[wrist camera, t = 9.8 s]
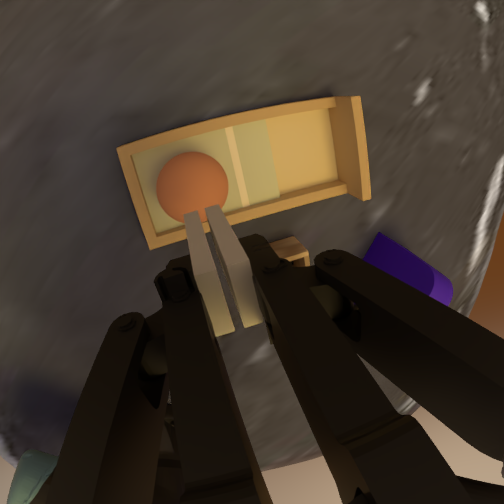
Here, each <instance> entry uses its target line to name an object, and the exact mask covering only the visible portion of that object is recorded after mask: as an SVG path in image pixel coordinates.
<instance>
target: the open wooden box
mask: <svg viewBox="0 0 504 504" xmlns="http://www.w3.org/2000/svg"><path fill="white" fill-rule="evenodd" d="M269 244H270V246H271V247H272V248H273V250H274V251H275V252H276V254H277V255H278V256H279V258H284V259H287V260H288V261H293V264H294V265H293V266H294V267H305V266H310V262H309V254H308V250H307V249H306V248H305V247H304V246H303V245H302V244H301V243H300V242H299V241H298V240H297V239H296V238H295V237H294V236H291V237H288V238H285V239H282V240H278V241H275V242H272V243H269Z"/></svg>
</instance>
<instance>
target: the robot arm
mask: <svg viewBox="0 0 504 504" xmlns="http://www.w3.org/2000/svg"><path fill="white" fill-rule="evenodd" d="M204 209H205V213H206V216H207V220H208V224H209V227H210V231H211V234H212V238H213V241H214V245H215V248H216V252H217V255H218V258H219V261H220V263H221V266H222V269H223V272H224V274H225V277H226V280H227V283H228V285H229V288H230V291H231V293H232V296H233V299H234V301H235V304H236V307H237V309H238V312H239V315H240V317H241V320H242V322H243V325H244V328H247V327H250V326H253V325H256V324H259V323H262V322H264V320H263V317H264V319H265V323H266V327H267V331H268V335H269V339H270V344H274V347H275V349H276V351H277V353H278V356H279V358H280V360H281V362H282V365H283V367H284V369H285V371H286V374H287V376H288V378H289V381H290V383H291V385H292V387H293V390H294V392H295V394H296V396H297V398H298V401H299V403H300V405H301V407H302V410H303V412H304V414H305V416H306V419H307V421H308V423H309V425H310V427H311V430H312V432H313V434H314V436H315V438H316V441H317V443H318V445H319V447H320V449H321V452H322V454H323V456H324V458H325V460H326V462H327V464H328V467H329V469H330V471H331V473H332V475H333V478H334V480H335V482H336V485H337V487H338V491H339V495H340V498H341V500H342V503H343V504H504V486H502V485H496V484H491V483H486V482H482V481H477V480H473V479H469V478H464V477H460V476H456V475H455V474H454V472H453V471H452V469H451V468H450V466H449V465H448V463H447V462H446V461H445V459H444V458H443V456H442V455H441V453H440V452H439V450H438V449H437V447H436V446H435V445H434V443H433V442H432V440H431V439H430V437H429V436H428V434H427V433H426V432H425V430H424V429H423V427H422V426H421V425H420V424H419V423H418V421H417V420H416V419H415V418H414V417H412V416H410V415H401V414H399V413H398V412H397V411H396V410H395V409H394V407H393V406H392V404H391V403H390V401H389V400H388V398H387V397H386V395H385V394H384V393H383V391H382V390H381V388H380V387H379V385H378V384H377V382H376V381H375V380H374V378H373V377H372V375H371V374H370V372H369V371H368V369H367V368H366V367H365V365H364V364H363V362H362V361H361V360H360V358H359V357H358V355H359V356H361V357H362V358H363V359H364V360H366V361H367V362H368V363H369V364H370V365H372V366H373V367H374V368H375V369H377V370H378V371H379V372H380V373H381V374H383V375H384V376H385V377H386V378H388V379H389V380H390V381H391V382H392V383H394V384H395V385H396V386H397V387H399V388H400V389H401V390H402V391H404V392H405V393H406V394H407V395H409V396H410V397H411V398H412V399H413V400H415V401H416V402H417V403H418V404H420V405H421V406H422V407H423V408H425V409H426V410H427V411H428V412H430V413H431V414H432V415H433V416H435V417H436V418H437V419H438V420H440V421H441V422H442V423H443V424H445V425H446V426H447V427H448V428H450V429H451V430H452V431H453V432H455V433H456V434H457V435H458V436H460V437H461V438H462V439H463V440H465V441H466V442H467V443H468V444H470V445H471V446H473V447H474V448H476V449H477V450H478V451H480V452H482V453H484V454H486V455H488V456H490V457H492V458H494V459H496V460H499V461H502V462H503V467H502V472H501V473H502V477H503V478H504V339H502V338H501V337H499V336H497V335H496V334H494V333H492V332H491V331H489V330H487V329H486V328H484V327H482V326H480V325H479V324H477V323H476V322H474V321H472V320H470V319H469V318H467V317H465V316H464V315H462V314H460V313H458V312H457V311H455V310H453V309H451V308H450V307H448V306H446V305H444V304H443V303H441V302H439V301H437V300H435V299H434V298H432V297H430V296H428V295H427V294H425V293H423V292H421V291H419V290H418V289H416V288H414V287H412V286H410V285H408V284H407V283H405V282H403V281H401V280H399V279H397V278H396V277H394V276H392V275H390V274H388V273H386V272H384V271H383V270H381V269H379V268H377V267H375V266H373V265H371V264H369V263H367V262H366V261H364V260H362V259H360V258H358V257H356V256H354V255H352V254H350V253H348V252H346V251H343V250H336V249H332V250H327V251H324V252H322V253H320V254H318V255H317V256H316V257H315V259H314V264H315V265H313V266H305V267H294V266H293V265H292V264H291V262H290V261H288V260H287V259H284V258H279V256H278V255H277V254H276V252H275V251H274V250H273V248H272V247H271V246H270V244H269V243H268V242H267V240H266V239H265V238H264V237H263V236H261V235H258V234H253V235H250V236H246V237H243V238H240V239H237V237H236V235H235V233H234V231H233V230H232V228H231V226H230V224H229V222H228V221H227V219H226V217H225V215H224V213H223V211H222V210H221V208H220V206H219V204H217V205H213V206H210V207H207V208H204ZM183 216H184V222H185V228H186V234H187V240H188V245H189V251H190V254H189V255H186V256H183V257H180V258H176V259H173V260H170V262H169V263H168V265H167V266H166V269H165V270H163V271H162V272H160V273H159V274H158V275H157V276H156V277H155V280H154V283H155V286H156V288H157V291H158V293H159V295H160V298H161V300H162V306H163V307H162V308H161V309H160V310H159V311H158V312H156V313H155V314H153V315H151V316H149V317H147V318H144V317H143V315H142V314H141V313H138V312H130V313H127V314H123V315H122V316H120V317H118V318H117V319H116V320H115V321H113V323H112V324H111V326H110V327H109V329H108V332H107V334H106V336H105V338H104V341H103V343H102V345H101V347H100V350H99V352H98V354H97V357H96V359H95V361H94V364H93V366H92V369H91V371H90V373H89V376H88V378H87V381H86V383H85V386H84V388H83V391H82V393H81V396H80V399H79V401H78V404H77V406H76V409H75V412H74V415H73V417H72V420H71V423H70V426H69V428H68V431H67V434H66V437H65V440H64V443H63V446H62V449H61V452H60V455H59V456H54V455H51V454H48V453H45V452H42V451H39V450H34V449H31V450H27V451H26V452H24V454H23V455H22V456H21V458H20V461H19V463H18V466H17V468H16V471H15V474H14V477H13V480H12V483H11V487H10V491H9V495H8V499H7V504H273V502H272V500H271V498H270V495H269V492H268V489H267V487H266V484H265V481H264V479H263V476H262V473H261V471H260V468H259V465H258V462H257V460H256V457H255V454H254V451H253V448H252V446H251V443H250V440H249V437H248V434H247V431H246V428H245V425H244V422H243V419H242V416H241V413H240V410H239V407H238V404H237V401H236V398H235V395H234V392H233V389H232V386H231V383H230V380H229V376H228V373H227V370H226V367H225V364H224V360H223V357H222V354H221V350H220V347H219V344H218V341H217V339H216V337H218V336H221V335H224V334H227V333H231V332H234V331H235V328H234V325H233V322H232V319H231V316H230V312H229V309H228V306H227V303H226V300H225V296H224V293H223V290H222V287H221V283H220V280H219V277H218V273H217V270H216V267H215V264H214V261H213V258H212V255H211V252H210V248H209V245H208V242H207V239H206V236H205V233H204V230H203V226H202V223H201V220H200V217H199V214H198V210H196V211H193V212H190V213H186V214H183ZM354 303H355V304H354ZM262 315H263V316H262ZM356 353H357V354H358V355H357V354H356ZM169 390H170V395H171V403H172V405H167V401H168V395H169Z"/></svg>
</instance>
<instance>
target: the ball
mask: <svg viewBox="0 0 504 504" xmlns="http://www.w3.org/2000/svg"><path fill="white" fill-rule="evenodd" d="M228 188H229V187H228V179H227V175H226V173H225V171H224V169H223V167H222V166H221V165H220V163H219V162H218V161H216V160H215V159H214V158H212V157H211V156H209V155H207V154H204V153H201V152H185V153H182V154H179V155H177V156H175V157H173V158H172V159H170V160H169V161H168V162H167V163H166V164H165V165H164V166H163V168H162V170H161V171H160V173H159V175H158V179H157V183H156V193H157V198H158V201H159V204H160V206H161V207H162V209H163V210H164V211H165V213H166V214H167V215H168V216H170V217H171V218H173V219H174V220H176V221H179V222H182V223H185V222H184V216H183V214H186V213H190V212H193V211H196V210H198V214H199V217H200V220H201V223H202V222H205V221H207V216H206V213H205V209H204V208H207V207H210V206H213V205H217V204H219V206H220V208H221V209H222V207H223V206H224V204H225V202H226V199H227V195H228Z"/></svg>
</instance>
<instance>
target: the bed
mask: <svg viewBox="0 0 504 504" xmlns="http://www.w3.org/2000/svg"><path fill="white" fill-rule="evenodd" d="M116 149H117V153H118V156H119V159H120V163H121V166H122V169H123V172H124V176H125V179H126V182H127V185H128V188H129V191H130V194H131V197H132V200H133V203H134V206H135V209H136V212H137V215H138V218H139V221H140V224H141V227H142V229H143V232H144V235H145V238H146V241H147V243H148V246H149V249H150V250H152V249H155V248H158V247H161V246H164V245H168V244H171V243H174V242H177V241H181V240H184V239H187V234H186V228H185V223H182V222H179V221H176V220H174V219H173V218H171V217H170V216H168V215H167V214H166V213H165V211H164V210H163V209H162V207H161V206H160V204H159V201H158V198H157V193H156V183H157V179H158V175H159V173H160V171H161V170H162V168H163V166H164V165H165V164H166V163H167V162H168V161H169V160H170V159H172V158H173V157H175V156H177V155H179V154H182V153H185V152H201V153H204V154H207V155H209V156H211V157H212V158H214V159H215V160H216V161H218V162H219V163H220V165H221V166H222V167H223V169H224V171H225V173H226V175H227V179H228V187H229V188H228V195H227V199H226V202H225V204H224V206H223V207H222V209H221V210H222V211H223V213H224V215H225V217H226V219H227V221H228V222H229V224H230V226H231V225H234V224H237V223H241V222H244V221H248V220H251V219H255V218H258V217H262V216H265V215H269V214H272V213H276V212H279V211H283V210H286V209H290V208H294V207H297V206H301V205H304V204H308V203H312V202H315V201H319V200H323V199H326V198H330V197H334V196H338V195H341V194H345V193H349V194H350V195H352V196H354V197H356V198H358V199H360V200H362V201H365V200H368V199H371V188H370V175H369V164H368V153H367V144H366V135H365V127H364V119H363V112H362V105H361V99H360V96H332V97H324V98H317V99H310V100H303V101H297V102H290V103H284V104H279V105H273V106H268V107H262V108H257V109H252V110H248V111H243V112H238V113H234V114H229V115H225V116H221V117H216V118H212V119H208V120H204V121H200V122H197V123H193V124H189V125H186V126H182V127H178V128H175V129H171V130H168V131H165V132H161V133H158V134H155V135H151V136H148V137H145V138H142V139H139V140H136V141H133V142H130V143H127V144H124V145H121V146H119V147H117V148H116ZM202 226H203V230H204V233H207V232H210V227H209V224H208V220H207V221H205V222H202Z"/></svg>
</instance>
